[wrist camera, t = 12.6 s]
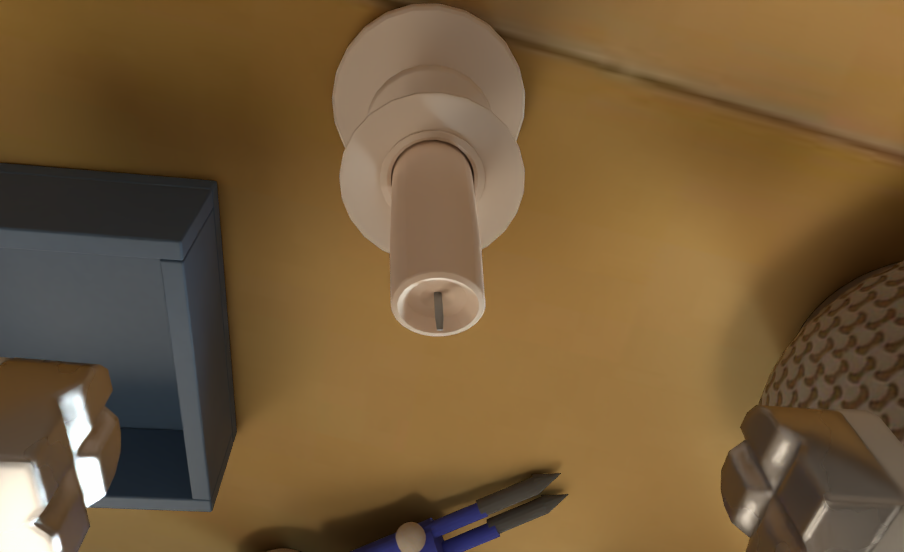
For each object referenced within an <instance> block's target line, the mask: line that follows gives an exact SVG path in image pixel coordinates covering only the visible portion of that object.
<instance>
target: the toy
mask: <svg viewBox="0 0 904 552" xmlns="http://www.w3.org/2000/svg"><path fill="white" fill-rule="evenodd" d="M560 474H561V473H554V474H532V477H531V478H529V479H526V480H524V481H521V482H519V483H517V484H514V485H512V486H509V487H507V488H505V489H502V490H500V491H497V492H495V493H493V494H490V495H488V496H485V497H483V498H481V499H478V500H476V502H477V503H475V504H472V505H470V506H468V507H465V508H463V509H460V510H458V511H456V512H453V513H451V514H448V515H446V516H444V517H441V518H439V519H436V520H433V519H432V518H429V519H427V520H424V521H422V522H420V523H415V522H407V523H405V524H403V525H401V526H400V527H399V529H398V530H397V532H396V533H393V534H391V535H389V536H386V537H384V538H381V539H379V540H377V541H374V542H372V543H369V544H367V545H365V546H362V547H360V548H357V549H355V550H353V551H350V552H463V551H466V550H468V549H471V548H473V547H476V546H478V545H480V544H483V543H485V542H488V541H490V540H493V539H495V538H497V537H500V533H502V532H504V531H507V530H509V529H512V528H514V527H516V526H519V525H521V524H524V523H526V522H528V521H531V520H533V519H536V518H538V517H540V516H543V515H545V514H548V513H549V512H550V511H551V510H552V509H553V508H555V507H556V506H557V505H558V504H559V503H560V502H561V501H562V500H563V499H564V498H565V497H566V496H567V495H568V494H560V495H541V497H539V498H537V499H534V500H532V501H530V502H527V503H525V504H522V505H520V506H518V507H515V508H513V509H510V510H508V511H506V512H503V513H501V514H498V515H496V516H494V517H491V518H489V519H487V523H486V524H484V525H481V526H479V527H477V528H474V529H472V530H469V531H467V532H465V533H462V534H460V535H457V536H455V537H453V538H450V539H448V540H446V541H444V540H443V537H442V535H444V534H446V533H449V532H451V531H454V530H456V529H458V528H461V527H463V526H466V525H468V524H470V523H473V522H475V521H478V520H480V519H483V518H485V517H487V516H488V515H490V514H492V513H495V512H497V511H499V510H502V509H504V508H507V507H509V506H511V505H514V504H516V503H519V502H521V501H523V500H526V499H528V498H531V497H533V496H536V495H538V494H540V493H541V492H542V491H543V490H544V489H545V488H546V487H547V486H548V485H549V484H550V483H551V482H552V481H553V480H555V479H556V478H557V477H558V476H559V475H560ZM265 552H301V551H297V550H293V549H273V550H269V551H265Z"/></svg>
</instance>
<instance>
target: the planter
mask: <svg viewBox="0 0 904 552" xmlns="http://www.w3.org/2000/svg"><path fill="white" fill-rule="evenodd" d="M759 405H763V406H781V407H799V408H817V409H827V410H828V409H854V410H868V411H870V412H872V413H873V414H875V415H877V416H878V417H880V418H881V420H882V421H883V422H884V423H885V424H886V426H887V427H888V428H889V429H890V430H891V432H892V433H893V434H894V435H895V436H896V438H897V439H898V440H899V441H900V442H901V444H902V445H903V446H904V261H902V262H899V263H895V264H891V265H888V266H885V267H882V268H879V269H877V270H874V271H871V272H869V273H867V274H865V275H863V276H861V277H858V278H856V279H855V280H853V281H851V282H850V283H848V284H846V285H845V286H843V287H841V288H840V289H839V290H837V291H836V292H835V293H833V294H832V295H831V296H830V297H828V298H827V299H826V300H825V301H824V302H823V303H822V304H821V305H820V306H819V307H818V308H817V309H816V310H815V311H814V312H813V313H812V314H811V316H810V317H809V318H808V319H807V321H806V322H805V323H804V325H803V326H802V328H801V330H800V331H799V333H798V335H797V336H796V337H795V339H794V340H793V341H792V342H791V344H790V345H789V346H788V347H787V348H786V350H785V351H784V352H783V354H782V355H781V357H780V359H779V360H778V362H777V364H776V365H775V367H774V369H773V370H772V372H771V374H770V376H769V379H768V381H767V384H766V386H765V389H764V391H763V394H762V396H761V399H760V402H759Z"/></svg>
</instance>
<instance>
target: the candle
mask: <svg viewBox="0 0 904 552" xmlns="http://www.w3.org/2000/svg"><path fill="white" fill-rule="evenodd" d="M332 103H333V112H334V121H335V125H336V127H337V130H338V132H339V135H340V138H341V140H342V143H343V145H344V147H345V150H344V152H343V158H342V163H341V169H340V175H339V178H340V187H341V196H342V200H343V202H344V205H345V207H346V210H347V212H348V214H349V217H350V219H351V220H352V222H353V223H354V224H355V225H356V227H357V228H358V229H359V231H360V232H361V233H362V234H363V236H364V237H366V238H367V239H368V240H369V241H371V242H372V243H373V244H375V245H376V246H377V247H379V248H380V249H381V250H383V251H385V252H388V253H390V290H391V310H392V313H393V315H394V317H395V319H396V320H397V321H398V322H399V323H400V324H401V325H402V326H404V327H406V328H407V329H409V330H411V331H413V332H416V333H419V334H422V335H428V336H448V335H453V334H457V333H460V332H462V331H465V330H467V329H469V328H470V327H472V326H473V325H475V324H476V323H477V322H478V320H479V319H480V318H481V317H482V315H483V312H484V310H485V296H484V281H483V265H482V249H483V248H485V247H487V246H489V245H490V244H491V243H492V242H493V241H494V240H495V239H497V238H498V237H499V236H500V235H501V234H502V233H503V232H504V231H505V230H506V228H507V227H508V225H509V224H510V223H511V221H512V220H513V218H514V217H515V215H516V214H517V211H518V208H519V205H520V202H521V199H522V196H523V193H524V177H525V169H524V165H523V161H522V156H521V152H520V148H519V146H518V144H517V142H516V141H517V138H518V135H519V132H520V129H521V125H522V122H523V119H524V107H525V90H524V85H523V81H522V77H521V72H520V68H519V66H518V64H517V62H516V60H515V58H514V56H513V54H512V53H511V51H510V49H509V47H508V45H507V43H506V42H505V41H504V40H503V39H502V38H501V37H500V35H499V34H498V33H497V32H496V31H495V30H494V29H493V28H492V27H491V26H490V25H489V24H488V23H486V22H485V21H483V20H481V19H480V18H478V17H476V16H474V15H473V14H471V13H469V12H468V11H466V10H463V9H459V8H455V7H451V6H448V5H444V4H440V3H432V4H411V5H407V6H404V7H401V8H398V9H395V10H391V11H388V12H386V13H385V14H383V15H381V16H380V17H378V18H377V19H375V20H374V21H372V22H371V23H369V24H368V25H366V26H365V27H364V28H363V29H362V30H361V32H360V33H359V34H358V35H357V36H356V37H355V38H354V40H353V41H352V42H351V43H350V44H349V45H348V47H347V49H346V51H345V54H344V56H343V58H342V60H341V62H340V64H339V67H338V69H337V71H336V76H335V82H334V88H333V94H332Z"/></svg>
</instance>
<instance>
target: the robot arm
mask: <svg viewBox="0 0 904 552" xmlns="http://www.w3.org/2000/svg"><path fill="white" fill-rule="evenodd" d="M112 391H113V388H112V384H111V380H110V376H109V372H108V369H107V368H105V367H103V366H102V365H100V364H88V363H77V362H65V361H53V360H41V359H29V358H17V357H14V358H7V357H0V552H78V550H79V548H80V546H81V544H82V542H83V540H84V538H85V536H86V534H87V532H88V530H89V528H90V523H89V519H88V515H87V511H86V508H87V507H89V506H90V505H92V504H93V503H95V502H96V501H97V500H99V499H100V498H102V497H103V496H105V495H106V493H107V491H108V489H109V487H110V484H111V482H112V480H113V478H114V476H115V473H116V468H117V464H118V460H119V456H120V452H121V430H120V424H119V419H118V417H117V416H116V415H115V414H114V413H113V412H111V411H110V410H109V409H108V408H107V407H106V406H105V404H106V402H107V400H108V398H109V397H110V395H111V393H112ZM740 428H741V430H742V433H743V435H744V437H745V440H744V441H743V442H742V443H740V444H739V445H737V446H736V447H734V448H733V449H731V450H730V451H729V452H728V455H727V457H726V460H725V462H724V465H723V467H722V469H721V493H722V498H723V502H724V506H725V509H726V511H727V513H728V515H729V517H730V520H731V522H732V523H733V524H734V525H735V526H737V527H738V528H739V529H740V530H741V531H742V532H744V533H745V534H746V535H747V536H748V537H750V540H749V543H748V546H747V550H746V552H904V446H903V445H902V444H901V442H900V441H899V440H898V439H897V438H896V436H895V435H894V434H893V433H892V432H891V430H890V429H889V428H888V427H887V426H886V424H885V423H884V422H883V421H882V420H881V418H880V417H878V416H877V415H875V414H873V413H872V412H870V411H868V410H854V409H828V410H827V409H817V408H799V407H781V406H763V405H756V406H755V407H753V408H752V409H751V410H750V411H749V412H747V414H746V416H745V418H744V420H743V422H742V424H741V426H740Z"/></svg>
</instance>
